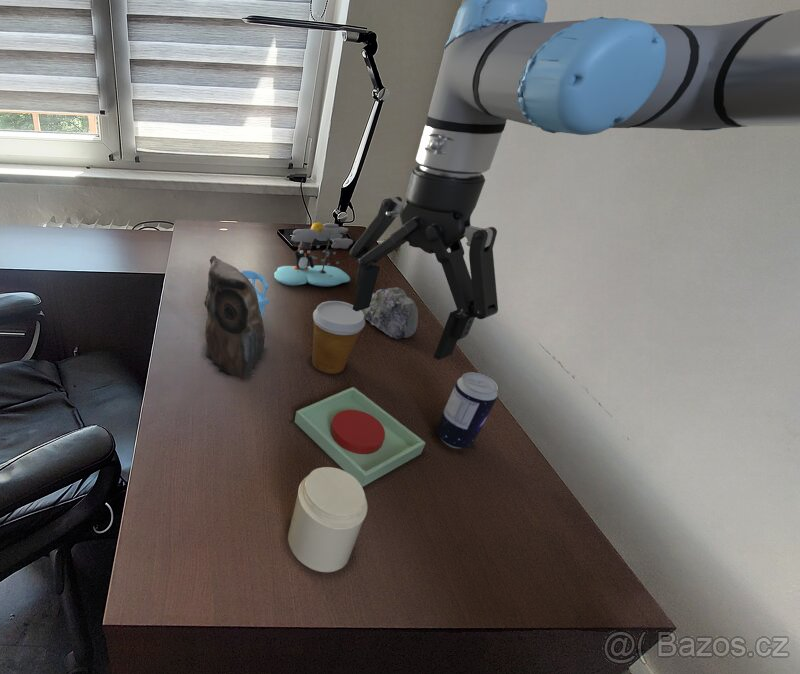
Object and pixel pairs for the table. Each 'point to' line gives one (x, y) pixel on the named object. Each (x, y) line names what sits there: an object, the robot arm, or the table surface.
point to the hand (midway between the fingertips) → (398, 330)
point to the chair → (261, 297)
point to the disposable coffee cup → (334, 334)
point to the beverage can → (467, 410)
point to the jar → (327, 519)
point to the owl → (232, 321)
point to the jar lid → (357, 432)
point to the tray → (362, 467)
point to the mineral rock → (392, 313)
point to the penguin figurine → (318, 273)
